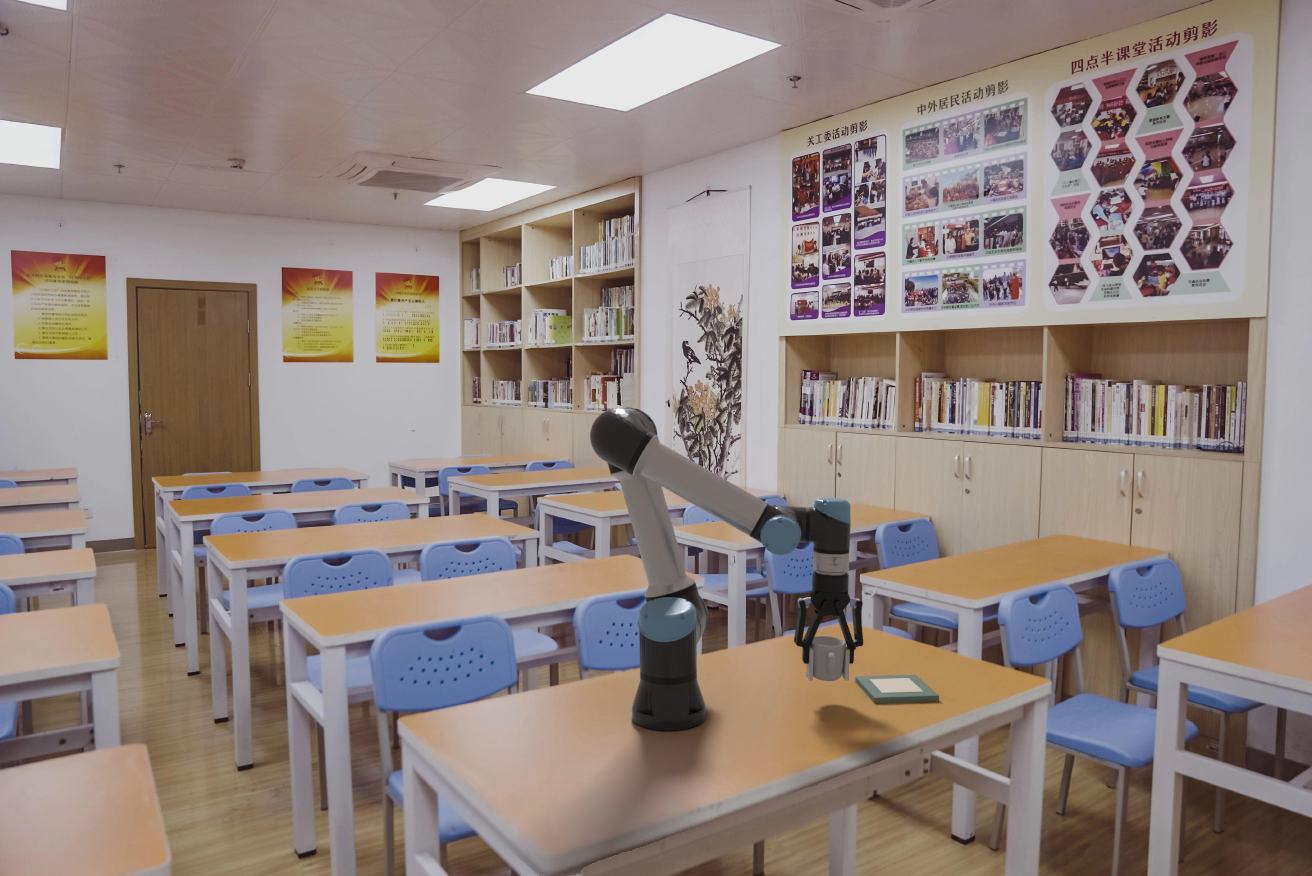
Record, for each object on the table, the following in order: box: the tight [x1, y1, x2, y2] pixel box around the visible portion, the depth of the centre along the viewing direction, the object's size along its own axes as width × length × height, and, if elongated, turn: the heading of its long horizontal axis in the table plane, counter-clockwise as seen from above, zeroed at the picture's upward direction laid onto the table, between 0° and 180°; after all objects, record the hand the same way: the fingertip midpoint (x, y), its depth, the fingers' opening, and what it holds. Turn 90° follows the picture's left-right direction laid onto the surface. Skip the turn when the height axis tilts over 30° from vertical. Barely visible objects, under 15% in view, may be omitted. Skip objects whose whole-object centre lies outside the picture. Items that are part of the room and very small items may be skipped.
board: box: [855, 674, 940, 704], centre depth 189 cm, size 14×14×1 cm
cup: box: [810, 635, 847, 682], centre depth 182 cm, size 11×8×8 cm
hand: (827, 677), depth 182 cm, fingers open, 7 cm apart
